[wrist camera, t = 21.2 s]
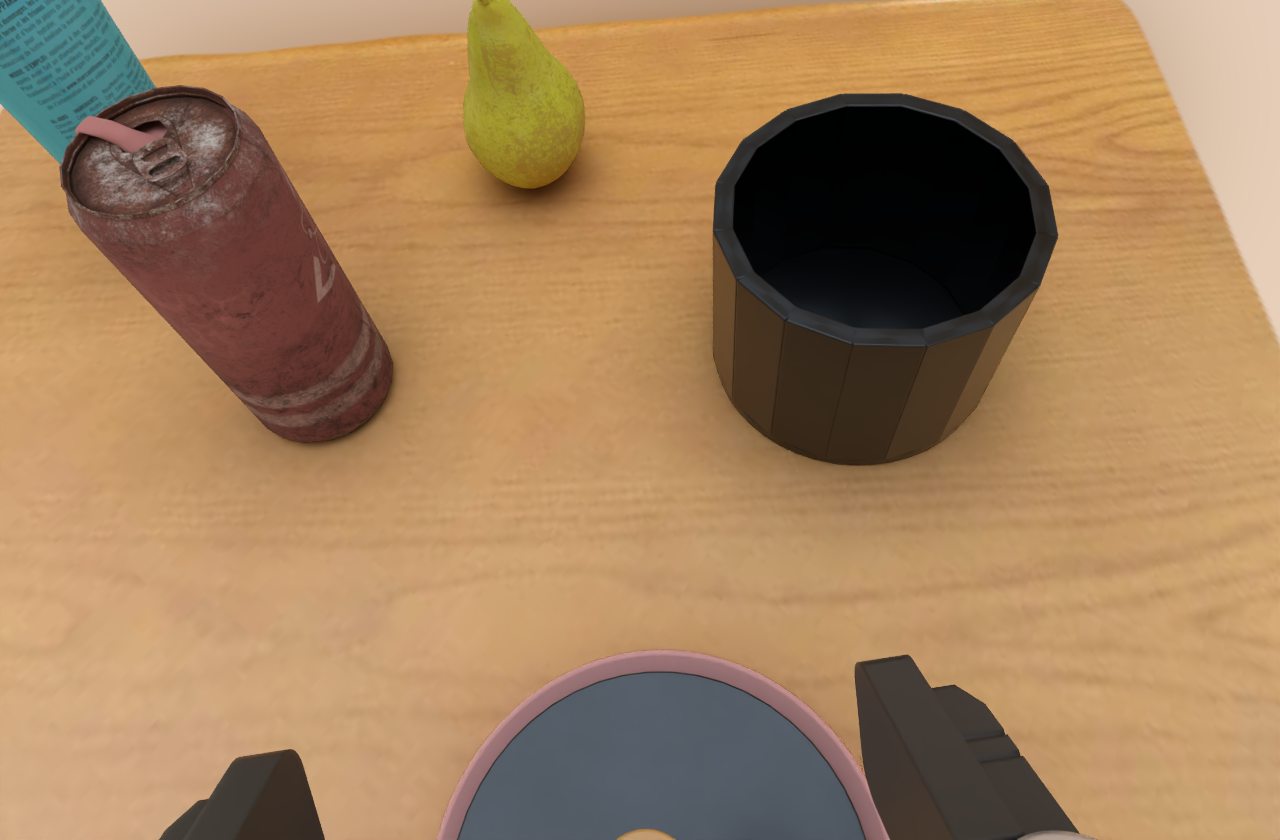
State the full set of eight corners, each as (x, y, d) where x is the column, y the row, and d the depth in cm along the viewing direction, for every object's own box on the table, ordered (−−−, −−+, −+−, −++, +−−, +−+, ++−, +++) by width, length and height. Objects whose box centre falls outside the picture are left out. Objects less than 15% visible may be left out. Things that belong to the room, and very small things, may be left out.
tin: (910, 214, 41) (953, 60, 33) (1038, 415, 35) (1125, 283, 28) (678, 285, 40) (670, 142, 32) (773, 502, 34) (789, 390, 27)
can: (291, 318, 40) (107, 64, 28) (417, 342, 39) (282, 86, 27) (230, 431, 38) (-5, 203, 25) (363, 461, 36) (185, 235, 24)
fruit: (565, 115, 46) (520, -121, 35) (613, 186, 43) (581, -46, 32) (463, 156, 45) (386, -73, 34) (506, 232, 42) (437, 8, 31)
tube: (186, 154, 46) (-113, -273, 29) (259, 176, 45) (-9, -255, 28) (93, 257, 43) (-300, -154, 26) (169, 284, 42) (-193, -129, 25)
